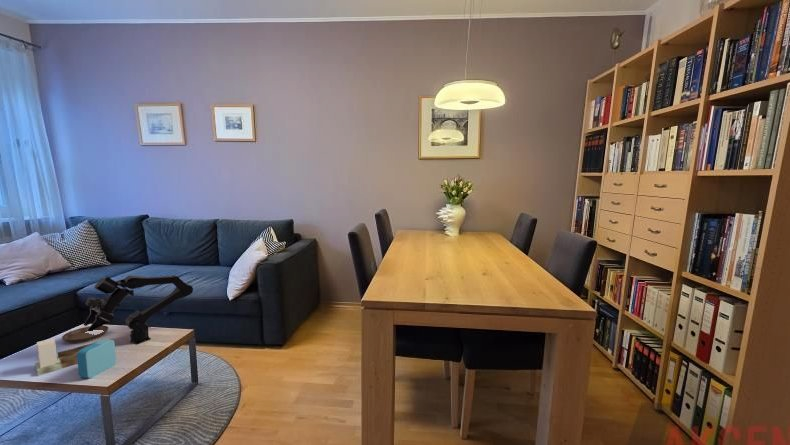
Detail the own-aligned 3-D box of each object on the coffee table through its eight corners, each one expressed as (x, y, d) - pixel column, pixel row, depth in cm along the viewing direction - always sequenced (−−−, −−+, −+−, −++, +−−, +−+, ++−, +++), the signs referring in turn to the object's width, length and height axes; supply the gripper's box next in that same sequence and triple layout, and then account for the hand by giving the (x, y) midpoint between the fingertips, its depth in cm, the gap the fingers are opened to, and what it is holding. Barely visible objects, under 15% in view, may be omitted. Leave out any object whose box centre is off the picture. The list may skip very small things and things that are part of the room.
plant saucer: (92, 328, 180) (92, 323, 180) (117, 332, 176) (116, 326, 176) (53, 343, 163) (52, 337, 162) (79, 347, 159) (78, 341, 159)
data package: (107, 363, 145) (105, 337, 144) (116, 364, 144) (114, 338, 143) (78, 378, 133) (75, 351, 132) (88, 379, 133) (85, 352, 131)
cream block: (55, 359, 144) (53, 338, 143) (57, 363, 141) (55, 341, 140) (39, 364, 140) (36, 342, 139) (40, 368, 137) (38, 345, 136)
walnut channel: (104, 347, 159) (104, 339, 158) (109, 353, 153) (109, 345, 152) (35, 367, 141) (34, 358, 140) (38, 375, 135) (37, 366, 134)
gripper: (94, 286, 157) (64, 315, 150) (103, 294, 146) (71, 326, 139) (116, 297, 164) (89, 325, 157) (126, 306, 153) (97, 336, 146)
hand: (86, 328), depth 149 cm, fingers open, 9 cm apart
